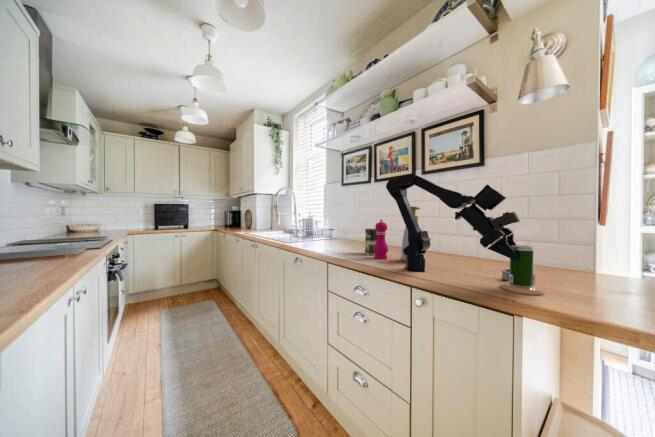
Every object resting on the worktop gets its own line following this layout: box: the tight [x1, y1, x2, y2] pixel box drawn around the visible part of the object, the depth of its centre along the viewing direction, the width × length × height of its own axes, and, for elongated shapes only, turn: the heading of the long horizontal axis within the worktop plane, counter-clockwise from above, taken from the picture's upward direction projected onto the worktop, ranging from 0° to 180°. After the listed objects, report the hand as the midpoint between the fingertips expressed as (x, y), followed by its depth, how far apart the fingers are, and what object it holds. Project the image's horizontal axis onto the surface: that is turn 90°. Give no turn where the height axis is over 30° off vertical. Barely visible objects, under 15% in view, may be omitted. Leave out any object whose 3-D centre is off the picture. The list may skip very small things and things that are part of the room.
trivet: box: [500, 280, 545, 296], centre depth 69 cm, size 10×10×1 cm
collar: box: [501, 268, 536, 285], centre depth 79 cm, size 8×8×3 cm
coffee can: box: [364, 228, 377, 257], centre depth 130 cm, size 10×10×14 cm
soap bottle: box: [400, 206, 425, 263], centre depth 111 cm, size 11×12×26 cm
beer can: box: [509, 244, 535, 289], centre depth 69 cm, size 5×5×12 cm
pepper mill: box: [374, 218, 389, 260], centre depth 118 cm, size 7×7×20 cm
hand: (520, 258), depth 69 cm, fingers open, 9 cm apart
